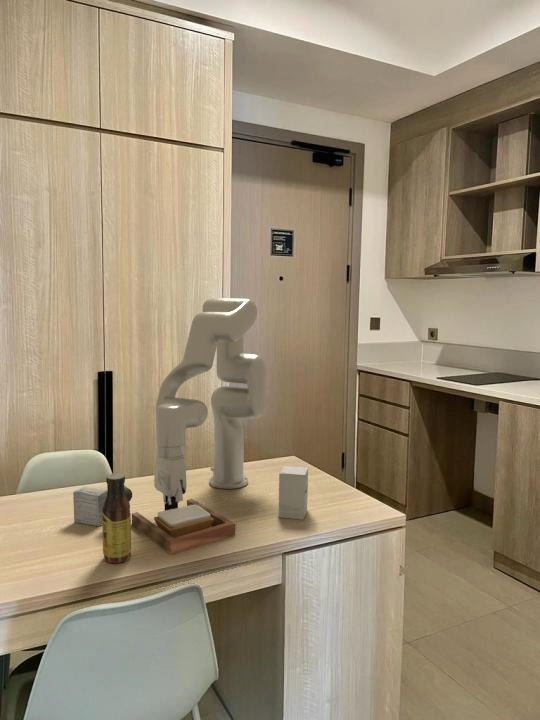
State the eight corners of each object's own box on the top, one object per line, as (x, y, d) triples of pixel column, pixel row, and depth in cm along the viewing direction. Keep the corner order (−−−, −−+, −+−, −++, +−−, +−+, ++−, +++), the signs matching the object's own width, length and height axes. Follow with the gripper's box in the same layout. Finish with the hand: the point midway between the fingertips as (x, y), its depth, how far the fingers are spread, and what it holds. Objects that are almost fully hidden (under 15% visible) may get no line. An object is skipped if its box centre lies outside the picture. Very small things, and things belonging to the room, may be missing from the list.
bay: (110, 524, 145) (109, 485, 144) (186, 505, 160) (186, 469, 158) (153, 560, 126) (152, 515, 125) (235, 534, 140) (235, 494, 139)
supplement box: (304, 520, 150) (305, 475, 149) (277, 517, 152) (278, 473, 150) (308, 510, 158) (308, 467, 156) (282, 507, 159) (283, 465, 158)
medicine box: (108, 521, 148) (108, 489, 147) (98, 527, 144) (97, 495, 143) (84, 516, 151) (83, 486, 150) (73, 523, 146) (72, 491, 146)
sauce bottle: (106, 552, 130) (104, 470, 128) (133, 551, 130) (132, 470, 128) (100, 566, 123) (98, 479, 121) (128, 565, 124) (127, 479, 122)
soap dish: (169, 544, 135) (169, 524, 134) (153, 530, 143) (153, 512, 142) (214, 532, 142) (214, 513, 141) (196, 520, 150) (196, 502, 149)
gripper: (145, 446, 149) (146, 511, 151) (171, 459, 137) (172, 530, 139) (170, 442, 154) (170, 505, 156) (197, 454, 142) (197, 523, 144)
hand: (171, 517), depth 148 cm, fingers closed
